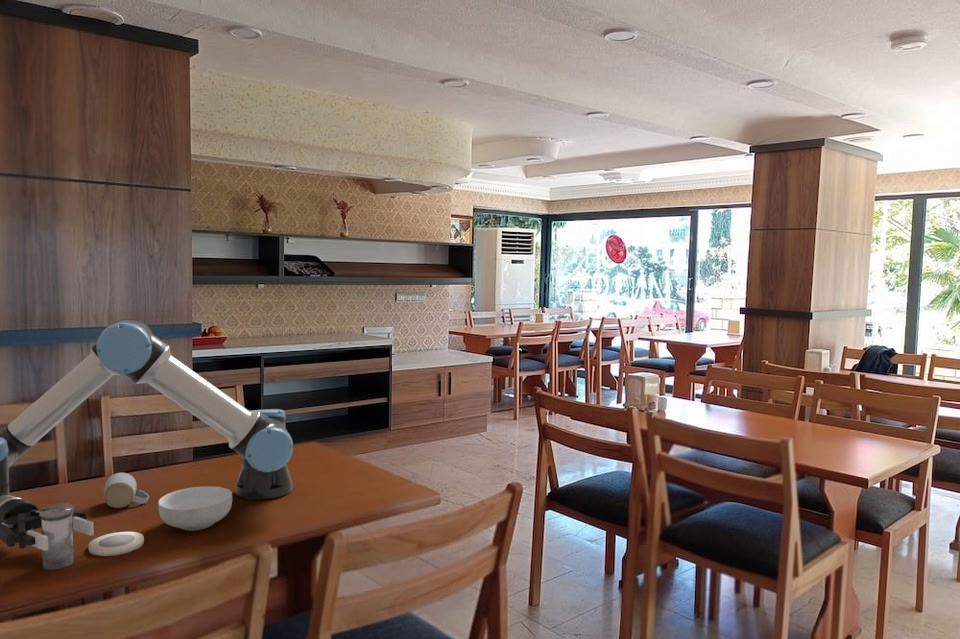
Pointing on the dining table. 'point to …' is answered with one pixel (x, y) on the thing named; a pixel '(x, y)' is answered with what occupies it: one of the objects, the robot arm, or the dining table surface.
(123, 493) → the ceramic mug
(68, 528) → the lidded glass jar
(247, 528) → the dining table surface
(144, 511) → the dining table surface
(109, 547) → the round white coaster
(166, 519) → the cereal bowl
